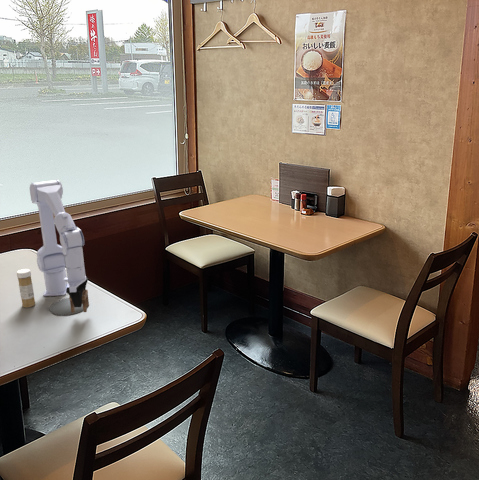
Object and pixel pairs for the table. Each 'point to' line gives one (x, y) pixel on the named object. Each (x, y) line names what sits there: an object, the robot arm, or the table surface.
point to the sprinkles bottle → (26, 287)
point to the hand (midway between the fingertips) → (79, 303)
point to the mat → (64, 307)
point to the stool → (84, 302)
